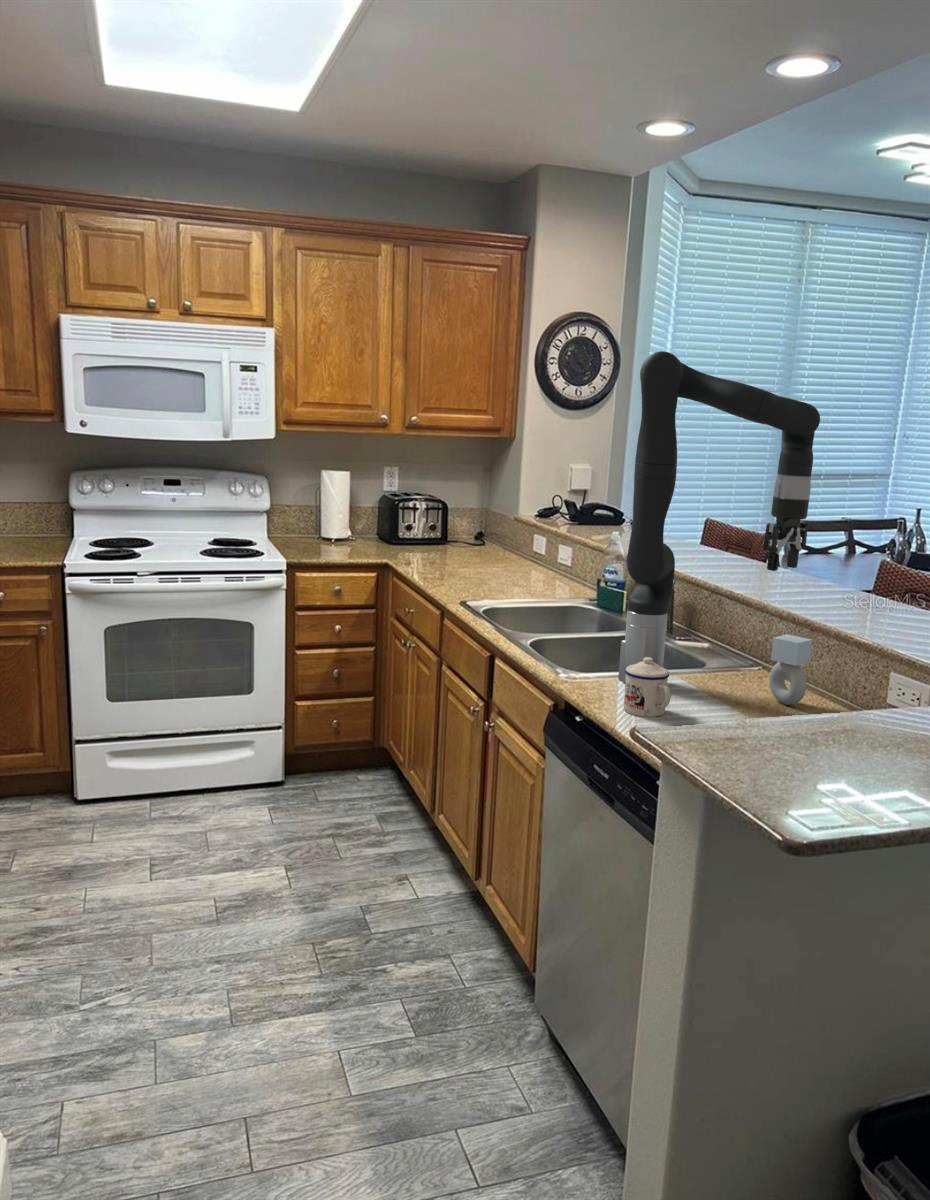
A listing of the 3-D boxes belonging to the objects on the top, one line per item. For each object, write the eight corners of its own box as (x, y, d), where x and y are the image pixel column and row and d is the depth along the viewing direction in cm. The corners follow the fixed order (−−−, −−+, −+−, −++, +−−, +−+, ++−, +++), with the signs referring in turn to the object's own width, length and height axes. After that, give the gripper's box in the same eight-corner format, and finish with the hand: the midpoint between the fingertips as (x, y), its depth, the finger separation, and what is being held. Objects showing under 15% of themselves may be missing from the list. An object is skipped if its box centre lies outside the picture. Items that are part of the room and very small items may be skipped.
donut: (763, 698, 208) (768, 655, 206) (775, 697, 209) (780, 654, 207) (795, 711, 199) (800, 667, 197) (807, 710, 200) (812, 666, 199)
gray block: (770, 659, 202) (773, 637, 201) (784, 655, 206) (786, 634, 205) (796, 665, 198) (798, 643, 197) (809, 661, 202) (812, 639, 201)
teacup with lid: (613, 707, 197) (617, 654, 194) (646, 702, 201) (651, 651, 199) (649, 724, 186) (654, 669, 184) (684, 719, 191) (689, 665, 188)
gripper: (791, 493, 209) (782, 564, 212) (758, 494, 199) (749, 568, 203) (823, 497, 203) (813, 569, 207) (790, 498, 194) (780, 574, 197)
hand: (781, 568), depth 205 cm, fingers open, 8 cm apart
